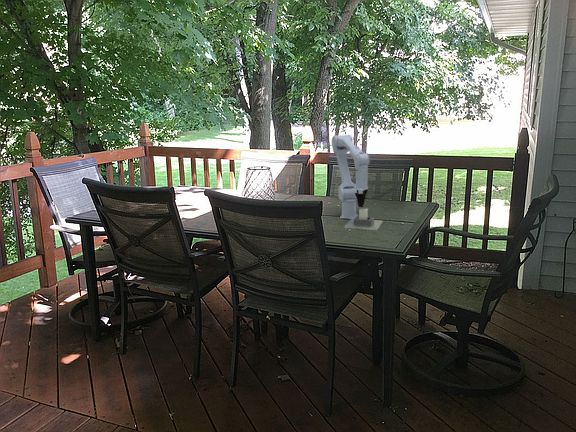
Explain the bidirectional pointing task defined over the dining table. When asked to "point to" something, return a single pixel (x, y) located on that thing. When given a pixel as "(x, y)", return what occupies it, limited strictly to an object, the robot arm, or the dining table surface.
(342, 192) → the robot arm
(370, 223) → the socket
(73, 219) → the dining table surface
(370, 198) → the dining table surface
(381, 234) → the dining table surface
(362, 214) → the plug
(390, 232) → the dining table surface
